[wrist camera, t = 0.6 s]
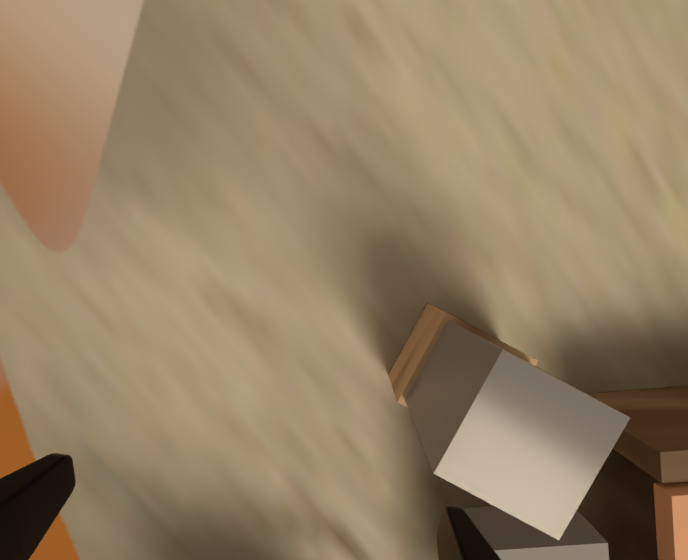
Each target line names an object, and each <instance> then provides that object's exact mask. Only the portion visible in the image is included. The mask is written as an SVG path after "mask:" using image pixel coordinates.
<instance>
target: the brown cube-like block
mask: <svg viewBox="0 0 688 560" xmlns="http://www.w3.org/2000/svg"><path fill="white" fill-rule="evenodd" d="M449 320H450V321H452V322H454V323H456V324H458V325H459V326H461V327H463V328H465V329H467V330H469V331H471V332H473V333H474V334H476V335H478V336H480V337H482V338H484V339H486V340H488V341H490V342H491V343H493V344H495V345H497V346H499V347H501V348H503V349H505V350H507V351H508V352H510V353H512V354H514V355H516V356H518V357H520V358H522V359H523V360H525V361H527V362H529V363H531V364H533V365H535V366H536V365H537V363H538V361H537V360H535V359H533V358H532V357H530V356H528V355H526V354H524V353H522V352H520V351H518V350H517V349H515V348H513V347H511V346H509V345H507V344H505V343H503V342H501V341H500V340H498V339H496V338H494V337H492V336H490V335H488V334H486V333H484V332H483V331H481V330H479V329H477V328H475V327H473V326H471V325H469V324H467V323H466V322H464V321H462V320H460V319H458V318H456V317H454V316H452V315H451V314H449V313H447V312H445V311H443V310H441V309H439V308H437V307H435V306H432V305H430V304H428V303H427V305H426V307H425V309H424V310H423V312H422V314H421V316H420V318H419V320H418V321H417V323H416V325H415V327H414V329H413V331H412V332H411V334H410V336H409V338H408V340H407V342H406V343H405V345H404V347H403V349H402V351H401V353H400V354H399V356H398V358H397V360H396V362H395V364H394V366H393V367H392V369H391V371H390V373H389V378H390V381H391V384H392V387H393V390H394V393H395V396H396V399H397V402H398V403H400V404H401V405H403V406H405V407H407V404H406V402H405V399H406V397H407V395H408V394H409V392H410V390H411V388H412V386H413V384H414V383H415V381H416V379H417V377H418V375H419V374H420V372H421V370H422V368H423V366H424V364H425V363H426V361H427V359H428V357H429V355H430V353H431V352H432V350H433V348H434V346H435V344H436V343H437V341H438V339H439V337H440V335H441V333H442V332H443V330H444V328H445V326H446V324H447V322H448V321H449ZM407 408H408V407H407Z"/></svg>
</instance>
